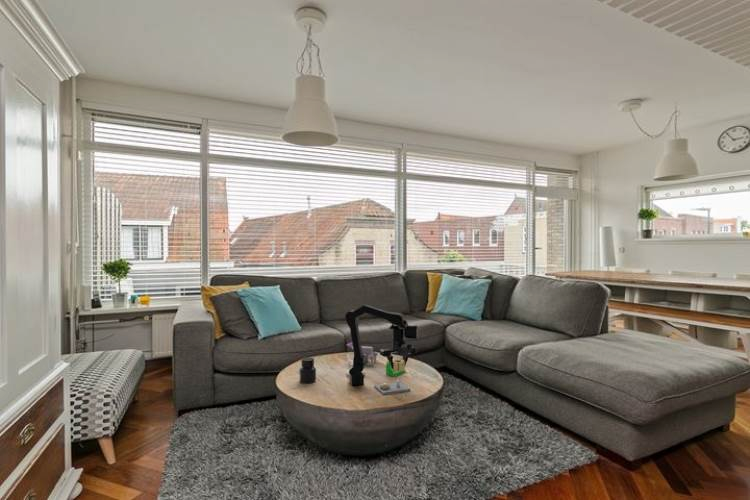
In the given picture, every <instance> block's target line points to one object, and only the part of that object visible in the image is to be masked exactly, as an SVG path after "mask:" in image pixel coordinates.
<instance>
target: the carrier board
mask: <svg viewBox="0 0 750 500" xmlns="http://www.w3.org/2000/svg"><path fill="white" fill-rule="evenodd" d="M373 388H375V389H376V390H377V391H378V392H379V393H380V394H381V395H383V396H384V395H389V394H390V395H391V394H399V393H404V392H410V391H411V388H410V387H408V386H407V385H406V384H404V383H402V381H401V379H397V380H396V382H388V383H379V384H374V387H373Z"/></svg>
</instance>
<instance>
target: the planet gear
mask: <svg viewBox="0 0 750 500" xmlns="http://www.w3.org/2000/svg"><path fill="white" fill-rule="evenodd" d="M404 370H405V371H406V365H405V361H404V360H403V359H399V358H397V359H393V369H392V371H396V372H398V371H399V372H401V371H404Z"/></svg>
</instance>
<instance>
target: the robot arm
mask: <svg viewBox="0 0 750 500" xmlns="http://www.w3.org/2000/svg"><path fill="white" fill-rule="evenodd" d="M364 314H367V315H371V316H374V317H377V318H380V319H383V320H386V321H387V322H388V323H390V324H391V325H390V326H389V327H388V329H389V330H392V338H391V341H392V346H391V349H389V348H381V349H380V350H379V355H380V356H382V357H385V358H386V359H387V362H388V361H389V364H390V366H391V368H392V369H393V360H394V356H393V354H398V355H399V356H401V357H402V360H404V361H405V366H406V365H407V363H408V359H409V358H410V357H411V356H412V355H414V354H417V348H416V347H414V346H413V345H412V344H406V340H405V338H406V339H411V340H412V339H413V340H418V339H419V332H420V331H419V328H418V327H419V326H418V325H411V324H409V323H408V322H407V320H406V318H405V315H404V314H403V313H401V312H396V311H388V310H384V309H380V308H378V307H375V306H371V305H369V304H363V305H362V306H360V307H358V308H357V309H352V310H349V311H347V312H346V313H345V316H344V317H345V322H346V324H347V326H348V327H349V330H350V331H349V332H350V336H351V337H350V338H351V342H352V344H353V349H352V351H353V358H352V367H351V368H350V369H349V370H348V373H349V379H350V380H349V382H348V384H350V386H351V387H352V388H353V387H355V388H356V387H363V386H365V383H364V382H365V379H364V378H365V376H364V373H363V372H364V370H365V369H366V367H367V366H368V362H369V361H367V355H365V354H363V353H362V347H361V346H362V341H361V337H360V329H359V323H360V316H362V315H364ZM364 355H365V356H364Z"/></svg>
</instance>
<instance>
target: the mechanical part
mask: <svg viewBox="0 0 750 500" xmlns="http://www.w3.org/2000/svg"><path fill="white" fill-rule="evenodd" d="M405 373H406V369H405V370H404V371H401V372H399V371H398V372H396V371H392V368H391V366H390V364H389V361H388V360H387V362H386V364H385V374H386V375H388V376H391V377H393V378H394V377H397V376H399V375H402V374H405Z"/></svg>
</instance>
